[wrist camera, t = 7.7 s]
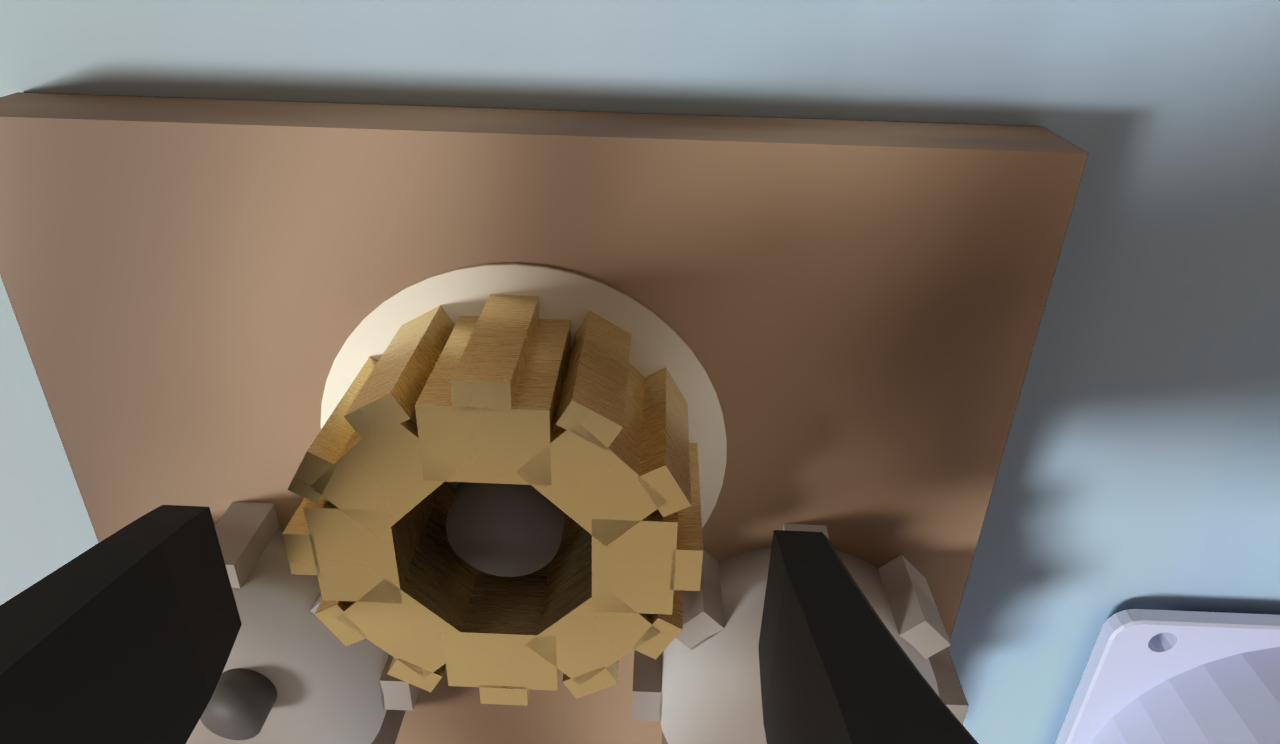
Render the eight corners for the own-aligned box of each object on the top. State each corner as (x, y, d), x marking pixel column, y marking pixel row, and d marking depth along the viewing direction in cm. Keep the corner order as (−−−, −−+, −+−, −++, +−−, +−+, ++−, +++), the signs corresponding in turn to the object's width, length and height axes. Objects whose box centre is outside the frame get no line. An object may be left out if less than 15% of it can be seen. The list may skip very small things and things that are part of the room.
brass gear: (707, 302, 12) (716, 391, 10) (686, 592, 15) (690, 712, 12) (322, 288, 12) (245, 372, 10) (371, 578, 15) (319, 696, 13)
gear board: (1043, 126, 12) (1172, 203, 9) (890, 727, 19) (935, 895, 15) (18, 92, 12) (-204, 156, 9) (212, 698, 19) (120, 858, 16)
